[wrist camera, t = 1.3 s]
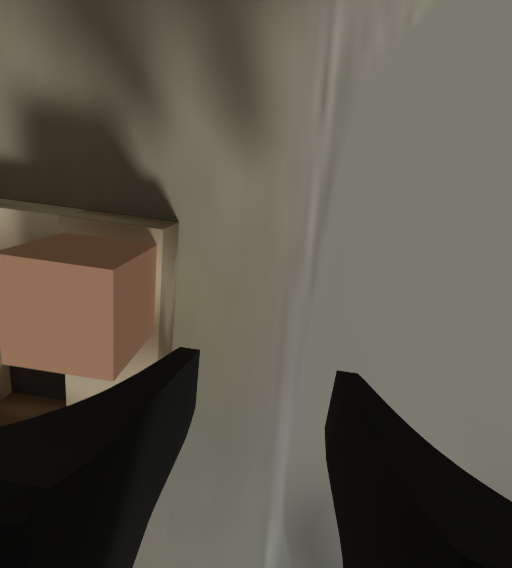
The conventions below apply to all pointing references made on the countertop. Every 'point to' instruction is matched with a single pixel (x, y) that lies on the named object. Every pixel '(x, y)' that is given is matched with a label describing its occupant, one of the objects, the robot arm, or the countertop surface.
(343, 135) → the countertop surface
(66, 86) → the countertop surface
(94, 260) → the block
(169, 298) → the cubby shelf
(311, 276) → the countertop surface
